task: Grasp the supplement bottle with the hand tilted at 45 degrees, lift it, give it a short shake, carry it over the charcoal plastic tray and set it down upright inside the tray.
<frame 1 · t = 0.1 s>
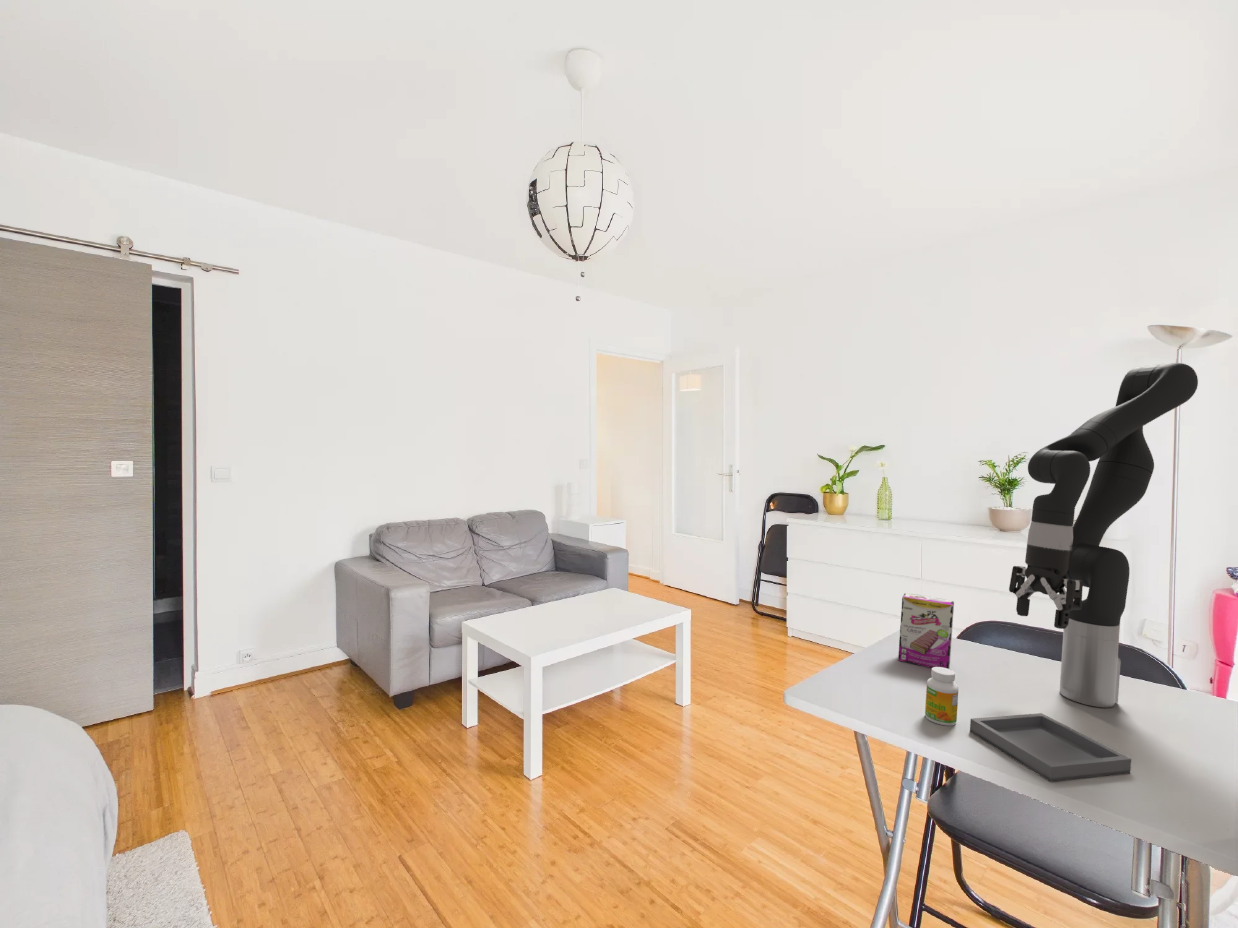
hand: (1040, 621, 119), 17 cm above the table, tool pointing down, fingers open, 8 cm apart
candy bar box: (924, 664, 140), on the table
supplement bottle: (940, 720, 111), on the table
tray: (1045, 751, 100), on the table
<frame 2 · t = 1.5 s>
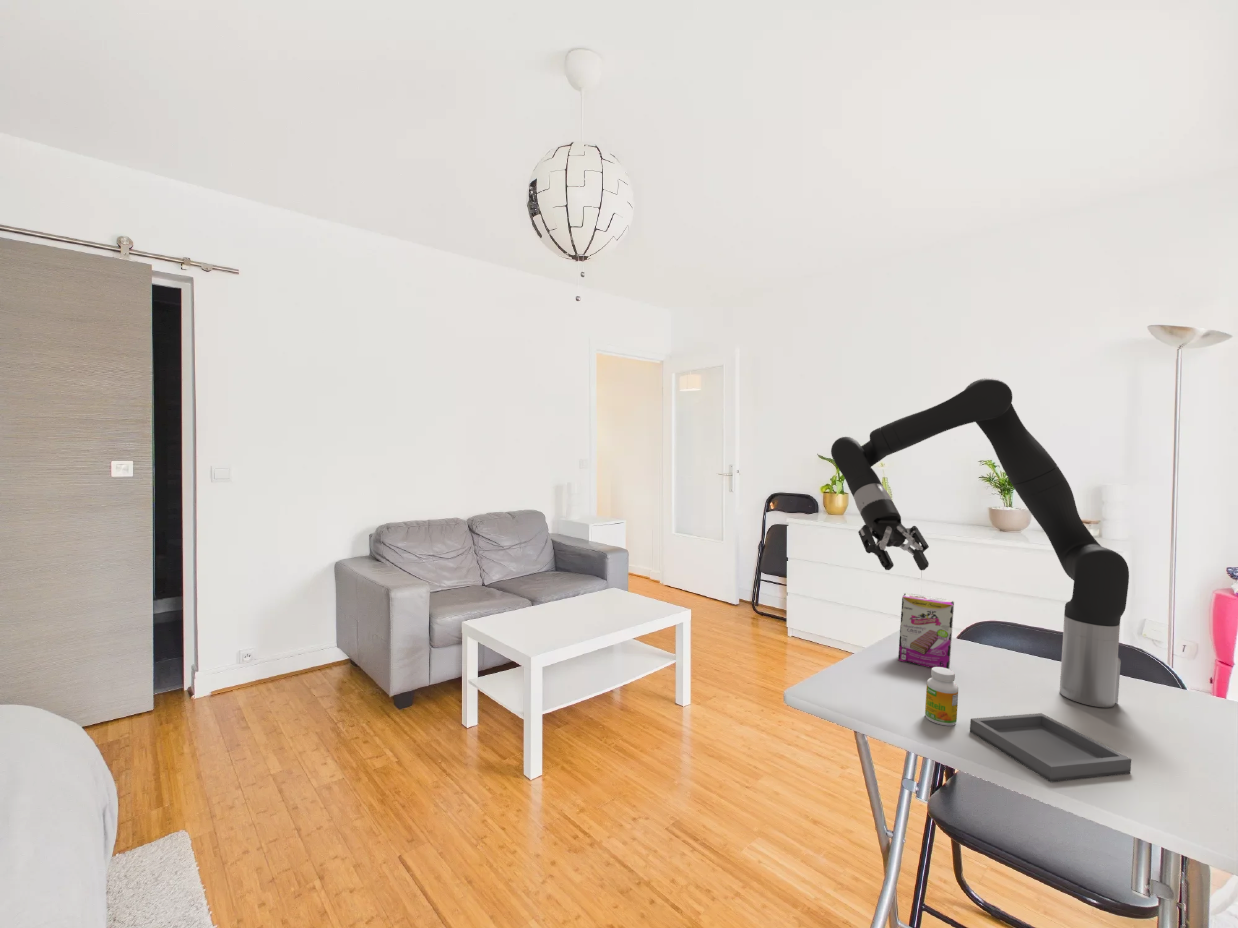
hand: (907, 568, 121), 27 cm above the table, tool tilted 45°, fingers open, 8 cm apart
nothing on the table moved.
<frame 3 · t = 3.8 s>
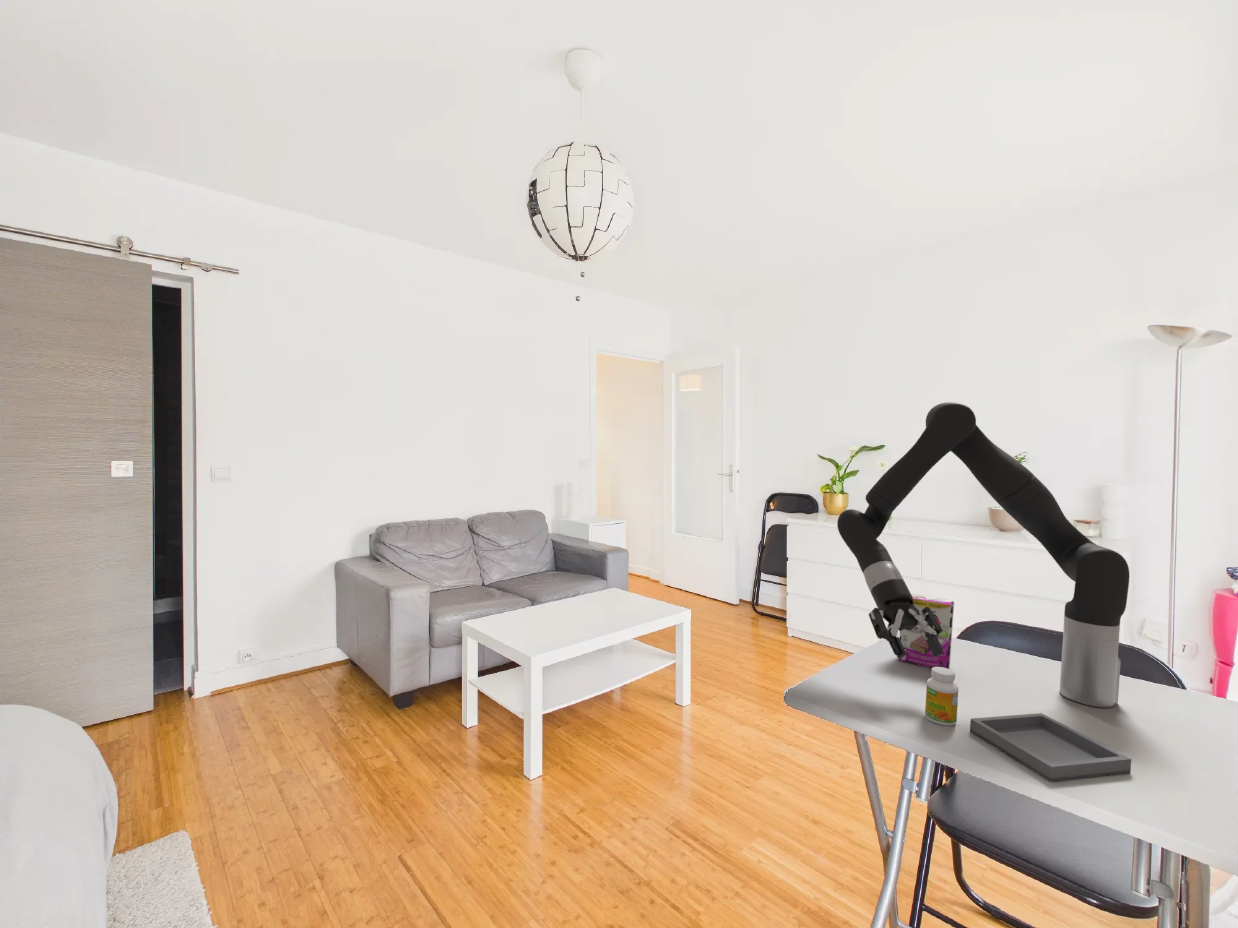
hand: (920, 655, 116), 10 cm above the table, tool tilted 45°, fingers open, 8 cm apart
nothing on the table moved.
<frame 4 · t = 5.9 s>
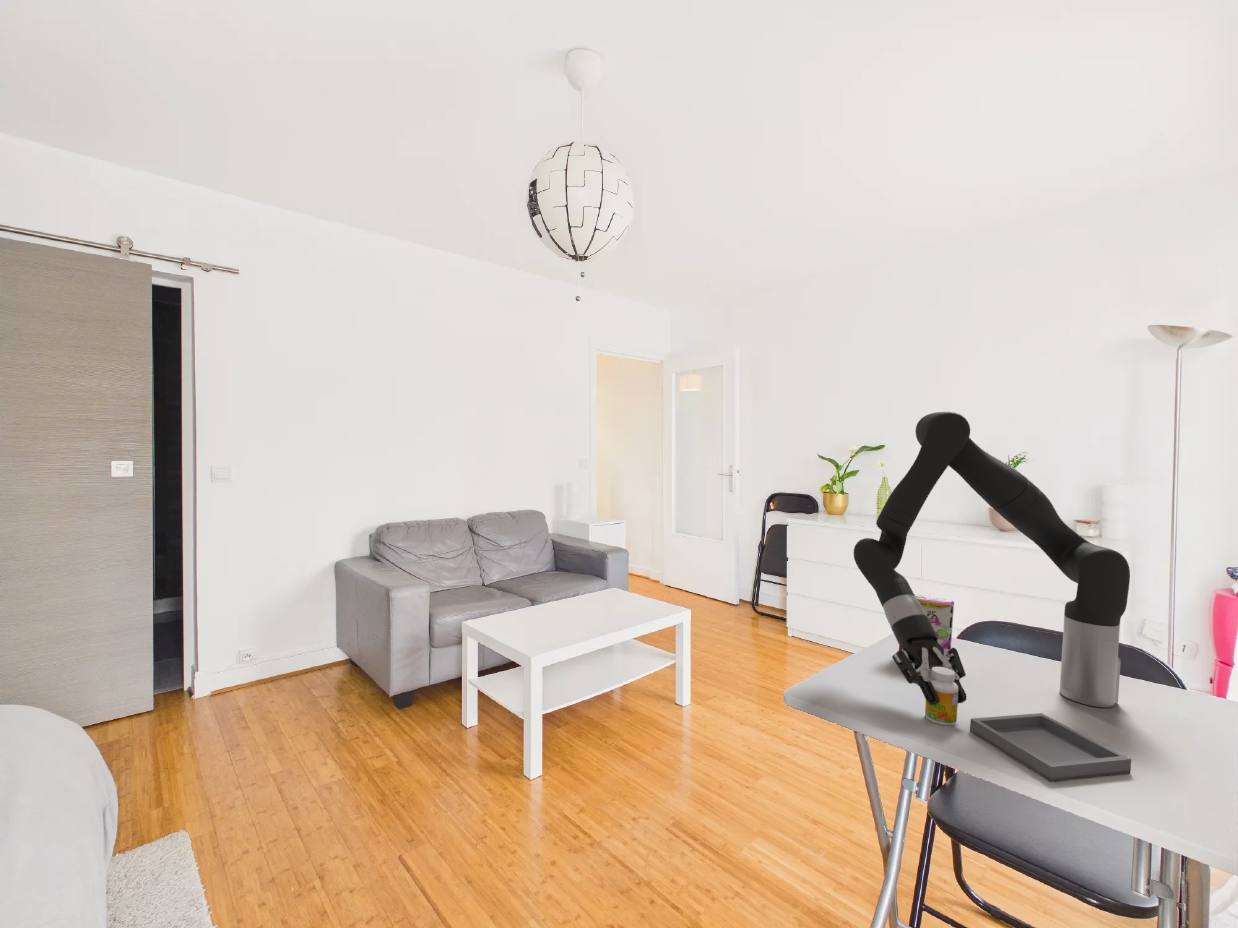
hand: (948, 702, 109), 4 cm above the table, tool tilted 45°, fingers closed on supplement bottle, 5 cm apart
supplement bottle: (940, 720, 111), on the table, touching gripper
everything else where it was.
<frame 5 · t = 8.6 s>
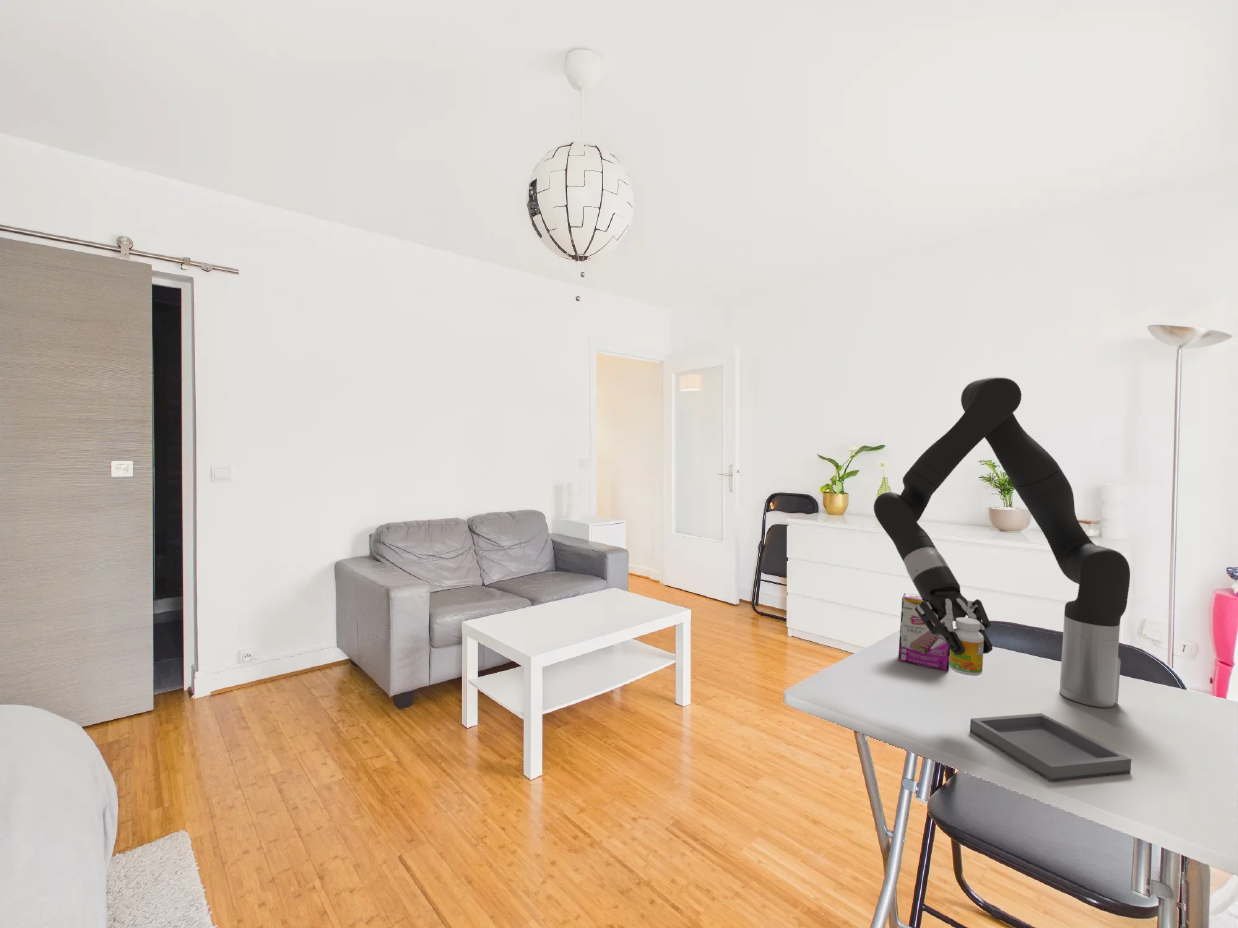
hand: (974, 652, 106), 15 cm above the table, tool tilted 45°, fingers closed on supplement bottle, 5 cm apart
supplement bottle: (965, 671, 108), point 10 cm above the table, touching gripper
everything else where it was.
when the fingers open (6 cm above the table, at t = 11.7 s): supplement bottle drops 1 cm, resting on tray.
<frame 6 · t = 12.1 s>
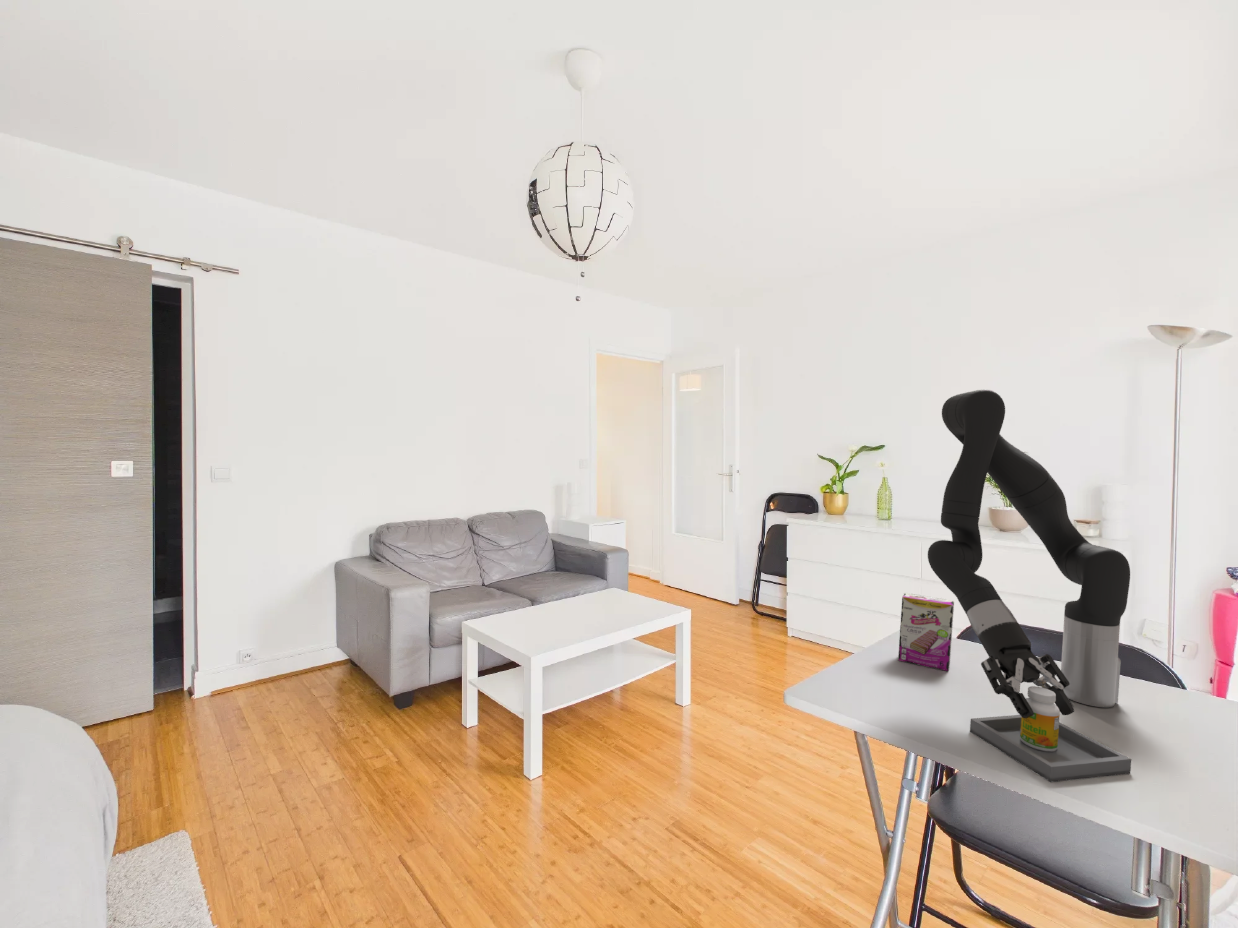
hand: (1049, 715, 99), 7 cm above the table, tool tilted 45°, fingers open, 8 cm apart
supplement bottle: (1038, 745, 101), resting on tray
everything else where it was.
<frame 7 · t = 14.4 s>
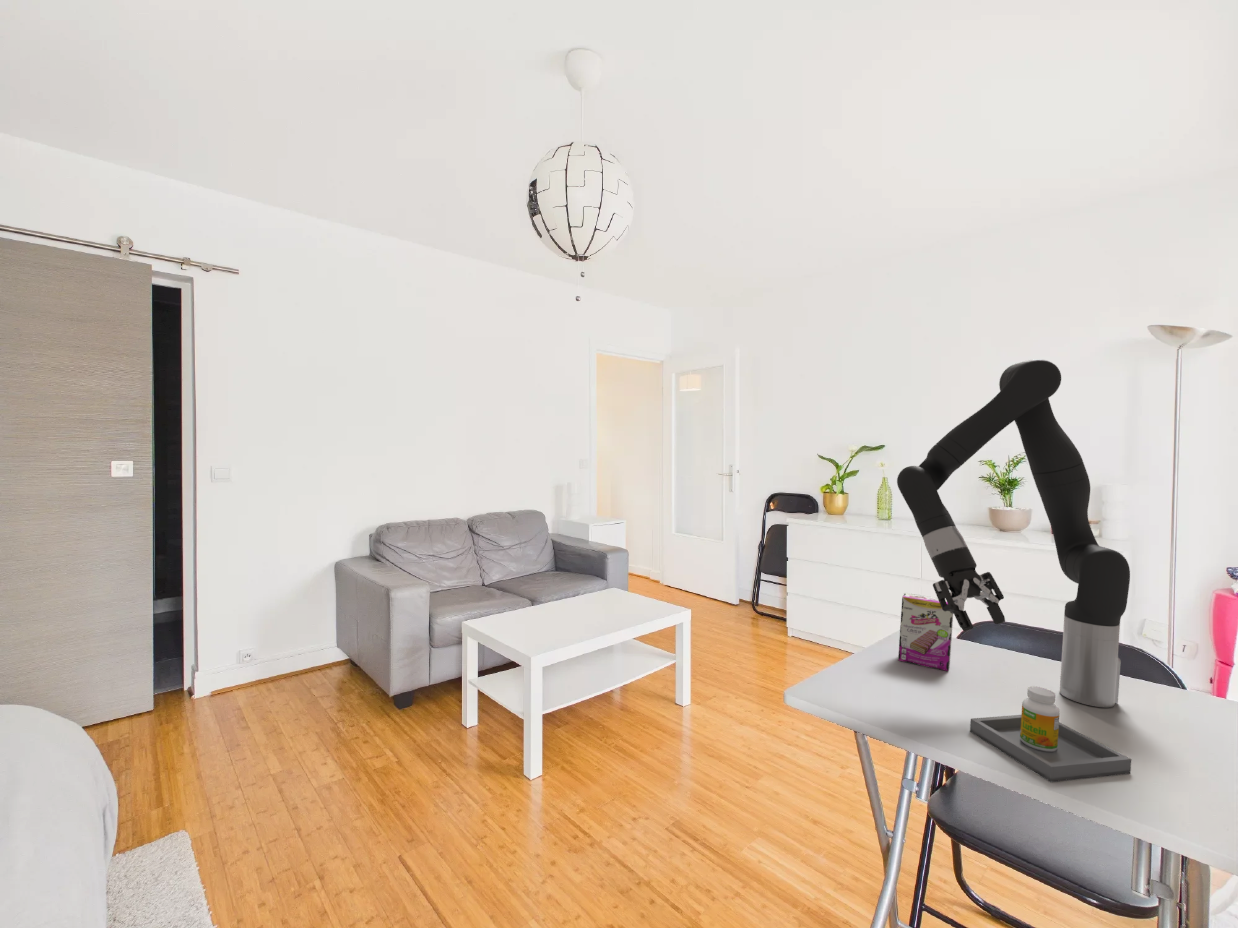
hand: (984, 626, 116), 17 cm above the table, tool tilted 30°, fingers open, 8 cm apart
nothing on the table moved.
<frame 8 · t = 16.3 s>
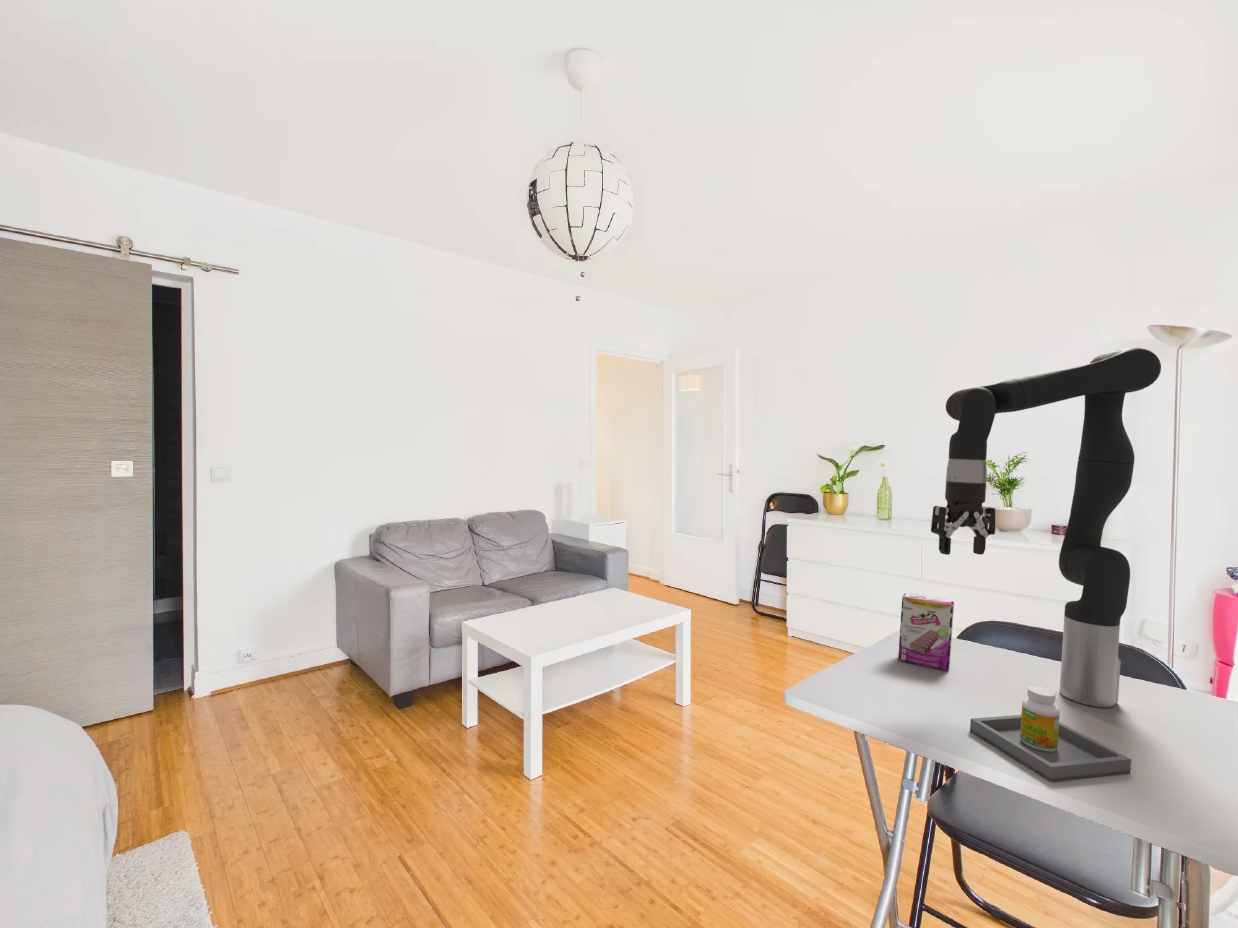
hand: (961, 553, 124), 30 cm above the table, tool pointing down, fingers open, 8 cm apart
nothing on the table moved.
at the end: supplement bottle inside the target area on the tray (1.2 cm from its centre), point 0.4 cm above the tray's base; supplement bottle tilted 0°; the gripper is holding nothing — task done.
